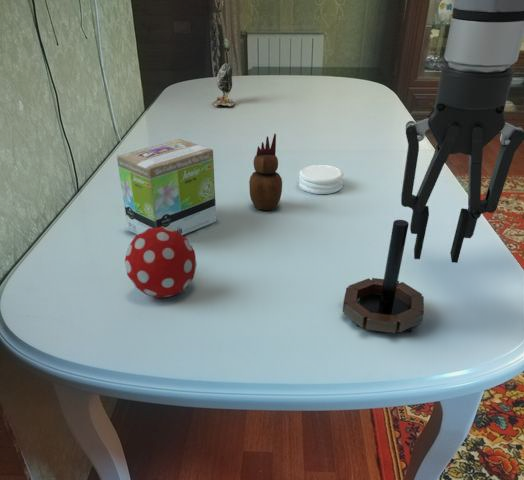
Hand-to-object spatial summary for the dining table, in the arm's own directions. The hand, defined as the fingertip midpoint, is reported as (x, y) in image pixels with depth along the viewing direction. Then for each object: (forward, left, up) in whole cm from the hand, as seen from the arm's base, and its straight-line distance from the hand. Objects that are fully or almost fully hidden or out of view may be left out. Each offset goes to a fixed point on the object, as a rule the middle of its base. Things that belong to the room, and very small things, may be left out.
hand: (435, 255), depth 70 cm
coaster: (+21, -49, -11) cm, 55 cm away
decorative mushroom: (+41, -2, -11) cm, 43 cm away
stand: (+5, 0, -11) cm, 12 cm away
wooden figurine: (+31, -35, -11) cm, 48 cm away
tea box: (+47, -22, -11) cm, 53 cm away
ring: (+6, 0, -10) cm, 11 cm away
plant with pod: (+63, -117, -11) cm, 133 cm away
